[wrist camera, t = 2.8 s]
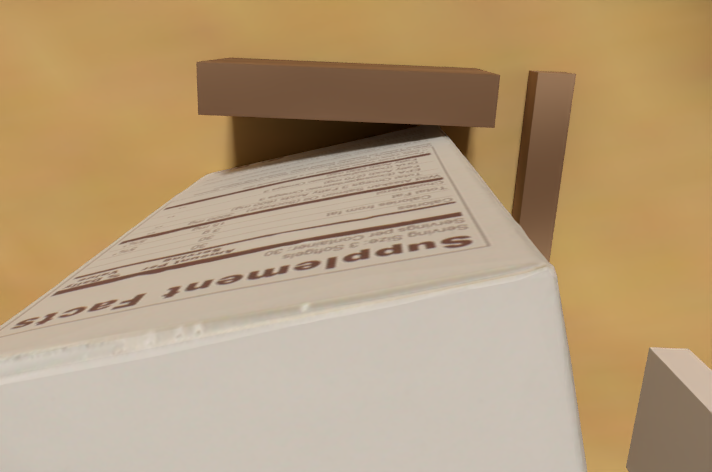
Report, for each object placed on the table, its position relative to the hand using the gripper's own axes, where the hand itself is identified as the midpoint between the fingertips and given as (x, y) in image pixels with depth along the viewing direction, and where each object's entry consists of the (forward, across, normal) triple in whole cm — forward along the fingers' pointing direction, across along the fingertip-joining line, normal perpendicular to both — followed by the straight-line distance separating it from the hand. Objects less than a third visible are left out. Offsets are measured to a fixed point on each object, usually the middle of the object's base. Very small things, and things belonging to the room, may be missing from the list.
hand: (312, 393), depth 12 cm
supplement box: (+8, 0, 0) cm, 8 cm away
